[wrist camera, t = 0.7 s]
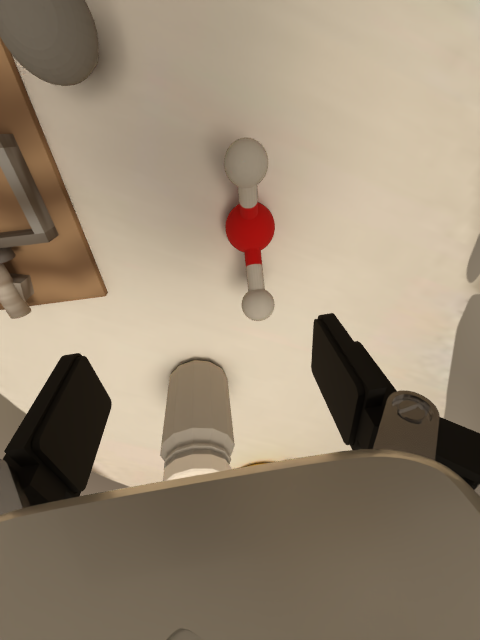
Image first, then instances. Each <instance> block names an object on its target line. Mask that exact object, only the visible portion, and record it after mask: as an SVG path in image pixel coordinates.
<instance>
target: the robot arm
mask: <svg viewBox="0 0 480 640" xmlns="http://www.w3.org/2000/svg"><path fill="white" fill-rule="evenodd" d="M311 368H312V373H313V375H314V378H315V380H316V382H317V384H318V386H319V389H320V391H321V393H322V395H323V397H324V399H325V402H326V404H327V406H328V408H329V410H330V413H331V415H332V417H333V419H334V421H335V423H336V426H337V428H338V430H339V432H340V434H341V437H342V439H343V441H344V443H345V444H346V445H350V446H351V448H352V450H351V451H341V452H334V453H328V454H321V455H315V456H308V457H301V458H295V459H289V460H283V461H278V462H272V463H266V464H260V465H254V466H248V467H242V468H236V469H230V470H225V471H219V472H213V473H208V474H202V475H196V476H190V477H185V478H179V479H173V480H168V481H162V482H156V483H151V484H145V485H140V486H134V487H129V488H123V489H117V490H112V491H107V492H101V493H95V494H90V495H84V496H80V493H81V491H83V490H84V489H85V488H86V485H87V482H88V479H89V476H90V473H91V470H92V466H93V463H94V460H95V457H96V454H97V451H98V448H99V444H100V441H101V438H102V435H103V432H104V429H105V425H106V422H107V419H108V416H109V413H110V410H111V399H110V397H109V395H108V394H107V392H106V390H105V389H104V387H103V385H102V383H101V382H100V380H99V378H98V376H97V375H96V373H95V371H94V369H93V368H92V366H91V364H90V362H89V361H88V359H87V358H86V357H85V356H82V355H81V354H79V353H77V354H70V355H64V356H62V357H61V358H60V360H59V362H58V363H57V365H56V367H55V368H54V370H53V372H52V373H51V375H50V377H49V378H48V380H47V382H46V383H45V385H44V387H43V388H42V390H41V391H40V393H39V395H38V396H37V398H36V400H35V401H34V403H33V405H32V406H31V408H30V410H29V411H28V413H27V415H26V416H25V418H24V420H23V421H22V423H21V425H20V426H19V428H18V430H17V431H16V433H15V434H14V436H13V438H12V439H11V441H10V443H9V444H8V446H7V448H6V449H5V453H6V455H5V456H4V458H3V460H2V459H0V640H480V433H477V432H475V431H473V430H470V429H467V428H465V427H462V426H460V425H458V424H455V423H453V422H451V421H448V420H446V419H443V418H441V417H439V412H438V410H437V408H436V406H435V405H434V404H433V403H432V402H431V401H430V400H429V399H427V398H426V397H424V396H422V395H420V394H418V393H415V392H411V391H396V389H395V388H394V387H393V385H392V384H391V383H390V381H389V380H388V379H387V377H386V376H385V375H384V373H383V372H382V371H381V369H380V368H379V367H378V365H377V364H376V363H375V361H374V360H373V359H372V357H371V356H370V355H369V353H368V352H367V351H366V349H365V348H364V347H363V345H362V344H361V343H360V342H358V341H356V342H354V341H353V340H352V338H351V337H350V335H349V334H348V333H347V331H346V330H345V328H344V327H343V326H342V324H341V323H340V322H339V320H338V319H337V317H336V316H335V315H334V314H333V313H331V314H324V315H319V316H318V319H315V320H314V328H313V345H312V363H311Z"/></svg>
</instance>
